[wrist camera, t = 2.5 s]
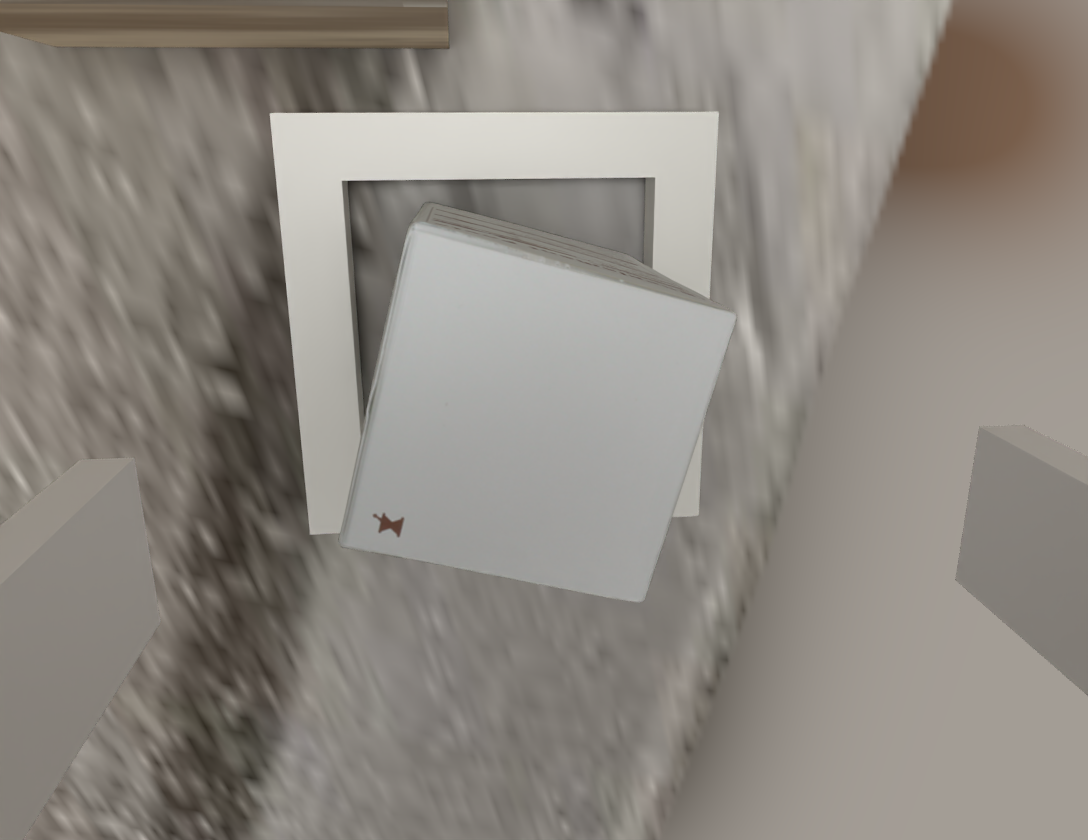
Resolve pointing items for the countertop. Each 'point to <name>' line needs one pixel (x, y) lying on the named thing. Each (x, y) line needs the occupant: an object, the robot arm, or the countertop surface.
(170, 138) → the countertop surface
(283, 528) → the countertop surface
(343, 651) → the countertop surface
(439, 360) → the supplement box
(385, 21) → the tray
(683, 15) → the countertop surface
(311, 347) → the white flat square frame
